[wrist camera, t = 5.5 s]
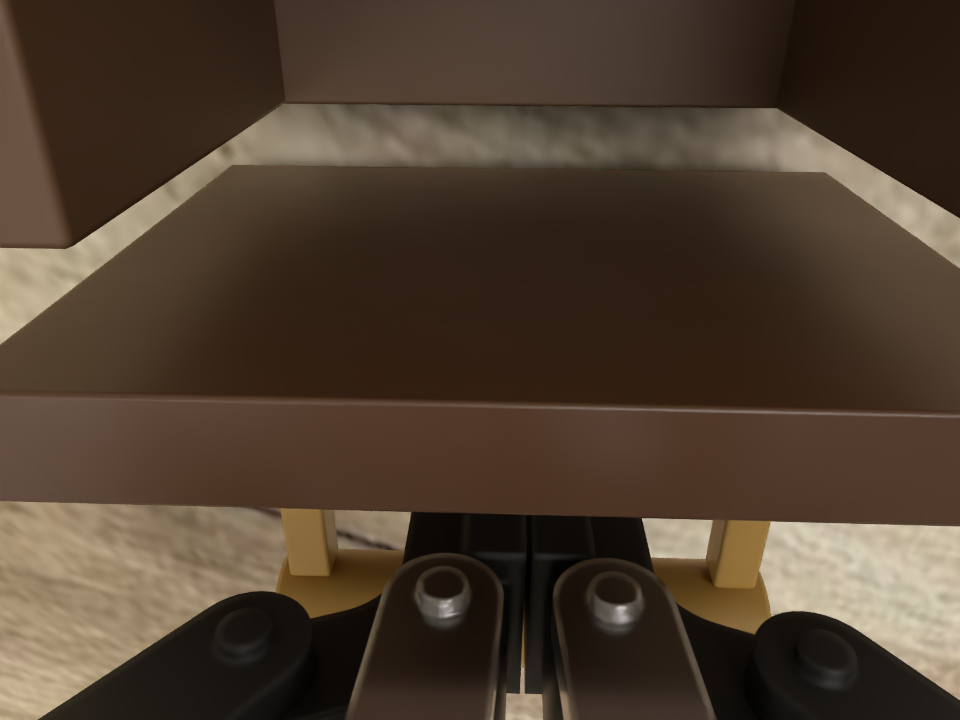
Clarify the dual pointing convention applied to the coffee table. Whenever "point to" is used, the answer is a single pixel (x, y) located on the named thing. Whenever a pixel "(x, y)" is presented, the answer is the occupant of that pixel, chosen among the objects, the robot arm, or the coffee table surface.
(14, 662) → the coffee table surface
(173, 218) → the drawer
